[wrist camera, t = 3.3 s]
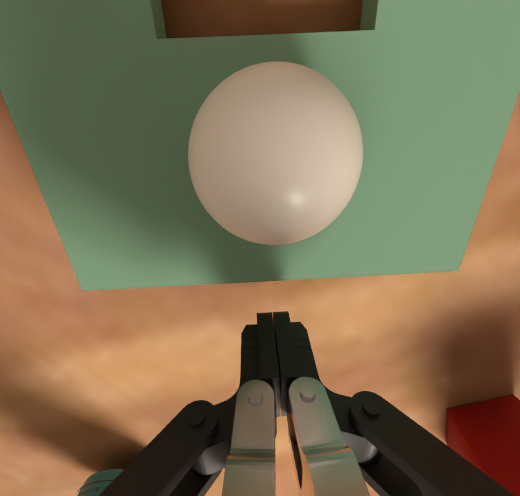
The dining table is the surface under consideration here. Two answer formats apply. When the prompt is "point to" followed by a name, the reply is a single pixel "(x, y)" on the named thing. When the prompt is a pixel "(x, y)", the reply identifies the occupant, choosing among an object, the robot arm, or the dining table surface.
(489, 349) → the dining table surface
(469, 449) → the french fries
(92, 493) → the beverage bottle
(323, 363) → the dining table surface
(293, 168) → the ball
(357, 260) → the putting deck
